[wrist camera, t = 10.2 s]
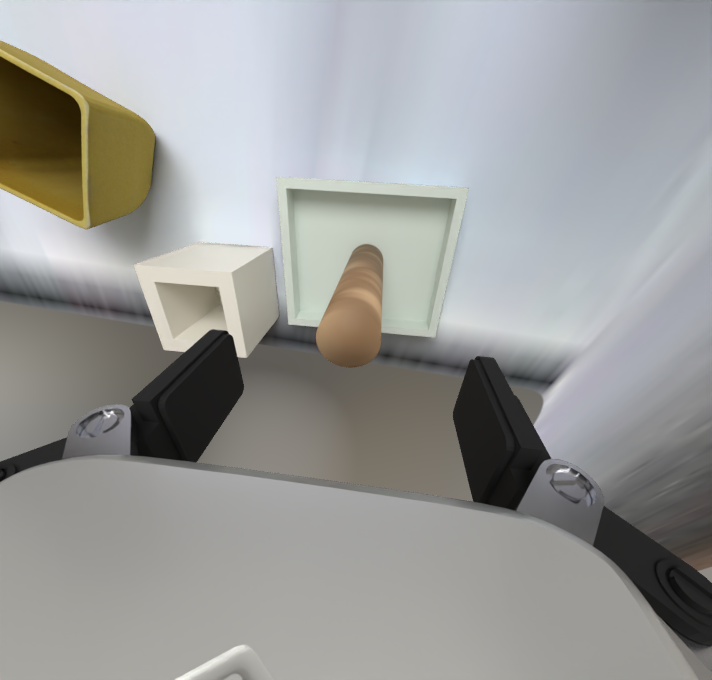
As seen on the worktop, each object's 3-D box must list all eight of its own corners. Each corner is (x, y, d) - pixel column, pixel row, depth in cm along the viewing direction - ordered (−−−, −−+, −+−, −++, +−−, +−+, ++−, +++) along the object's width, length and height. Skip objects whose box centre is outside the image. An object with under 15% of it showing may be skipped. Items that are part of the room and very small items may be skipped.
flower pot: (167, 218, 29) (87, 232, 21) (79, 172, 27) (-43, 169, 19) (181, 122, 24) (86, 97, 17) (77, 62, 23) (-80, 3, 15)
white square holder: (272, 247, 29) (231, 272, 21) (279, 316, 33) (247, 357, 25) (199, 242, 29) (133, 264, 22) (215, 310, 34) (163, 349, 26)
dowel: (385, 245, 27) (384, 314, 13) (381, 278, 29) (377, 370, 15) (350, 242, 27) (315, 308, 14) (349, 276, 29) (316, 364, 15)
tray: (460, 187, 25) (469, 188, 22) (431, 325, 32) (435, 337, 29) (286, 176, 26) (276, 176, 23) (295, 313, 33) (288, 324, 30)
